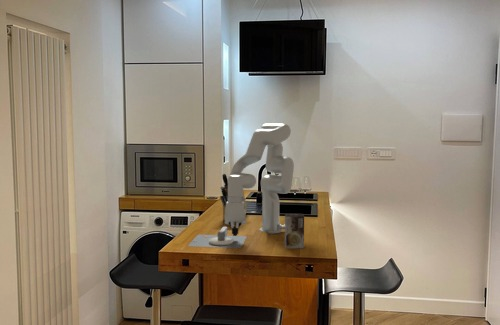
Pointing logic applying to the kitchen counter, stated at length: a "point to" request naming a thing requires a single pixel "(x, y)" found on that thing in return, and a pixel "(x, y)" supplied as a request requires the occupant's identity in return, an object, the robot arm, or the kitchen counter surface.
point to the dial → (221, 238)
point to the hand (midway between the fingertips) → (235, 235)
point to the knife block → (225, 195)
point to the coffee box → (294, 230)
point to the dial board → (204, 242)
